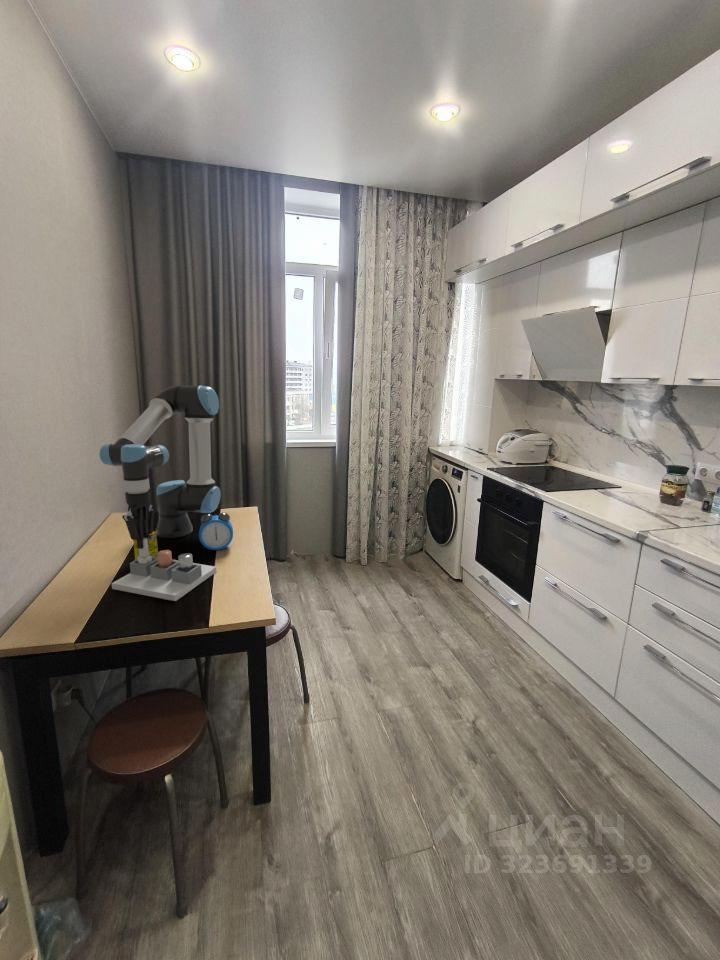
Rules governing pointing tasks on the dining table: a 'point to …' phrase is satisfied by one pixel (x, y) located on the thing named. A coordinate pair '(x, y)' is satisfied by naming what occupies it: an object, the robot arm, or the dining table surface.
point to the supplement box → (151, 547)
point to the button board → (162, 579)
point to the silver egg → (185, 562)
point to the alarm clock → (216, 531)
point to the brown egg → (164, 558)
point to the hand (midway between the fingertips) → (144, 555)
